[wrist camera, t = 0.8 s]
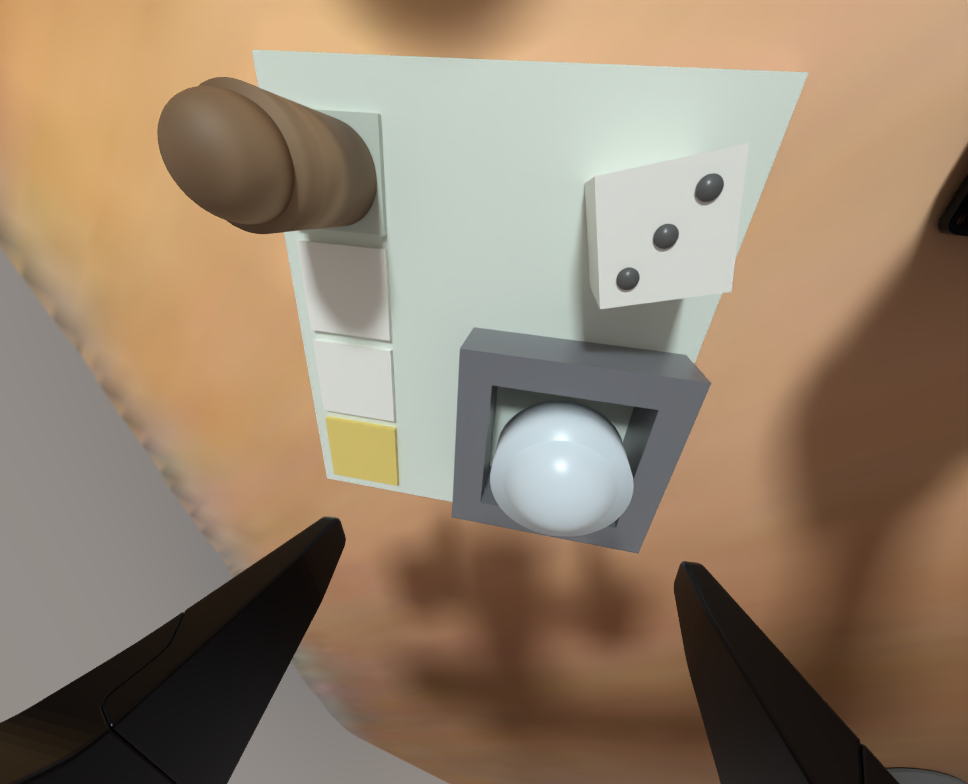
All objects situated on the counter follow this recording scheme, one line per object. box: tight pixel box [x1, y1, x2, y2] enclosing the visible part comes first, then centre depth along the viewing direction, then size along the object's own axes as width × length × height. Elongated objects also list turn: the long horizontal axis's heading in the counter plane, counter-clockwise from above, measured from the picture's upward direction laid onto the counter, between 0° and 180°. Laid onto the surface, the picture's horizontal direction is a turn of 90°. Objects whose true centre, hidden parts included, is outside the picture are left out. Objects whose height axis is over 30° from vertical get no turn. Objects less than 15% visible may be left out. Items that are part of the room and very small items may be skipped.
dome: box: [490, 401, 634, 537], centre depth 16 cm, size 6×6×5 cm
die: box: [585, 143, 749, 309], centre depth 13 cm, size 4×4×4 cm
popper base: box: [452, 327, 711, 553], centre depth 18 cm, size 10×10×3 cm
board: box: [252, 50, 809, 502], centre depth 18 cm, size 20×22×1 cm
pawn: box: [157, 77, 377, 234], centre depth 12 cm, size 4×4×7 cm
